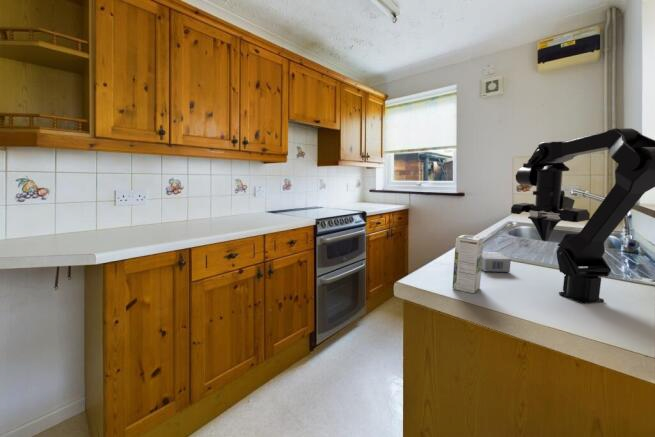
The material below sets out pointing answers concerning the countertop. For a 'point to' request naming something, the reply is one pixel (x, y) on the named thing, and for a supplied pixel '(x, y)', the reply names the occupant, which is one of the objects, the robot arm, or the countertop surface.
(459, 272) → the syrup box
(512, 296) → the countertop surface
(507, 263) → the medicine box
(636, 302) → the countertop surface
